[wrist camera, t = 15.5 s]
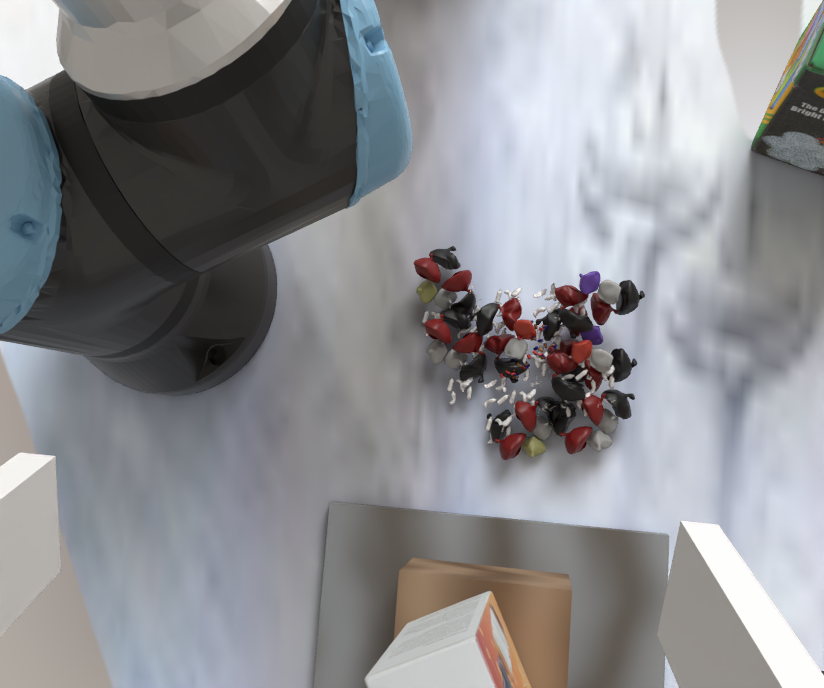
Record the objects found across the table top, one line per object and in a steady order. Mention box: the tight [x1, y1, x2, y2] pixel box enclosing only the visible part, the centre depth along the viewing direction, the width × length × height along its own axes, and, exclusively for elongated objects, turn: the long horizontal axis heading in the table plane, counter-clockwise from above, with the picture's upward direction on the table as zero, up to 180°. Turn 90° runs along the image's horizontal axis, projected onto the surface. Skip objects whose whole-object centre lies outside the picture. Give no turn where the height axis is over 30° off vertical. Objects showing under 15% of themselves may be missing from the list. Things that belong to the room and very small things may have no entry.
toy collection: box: [414, 246, 645, 460], centre depth 47 cm, size 15×14×5 cm
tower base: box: [313, 502, 669, 688], centre depth 44 cm, size 22×16×6 cm
